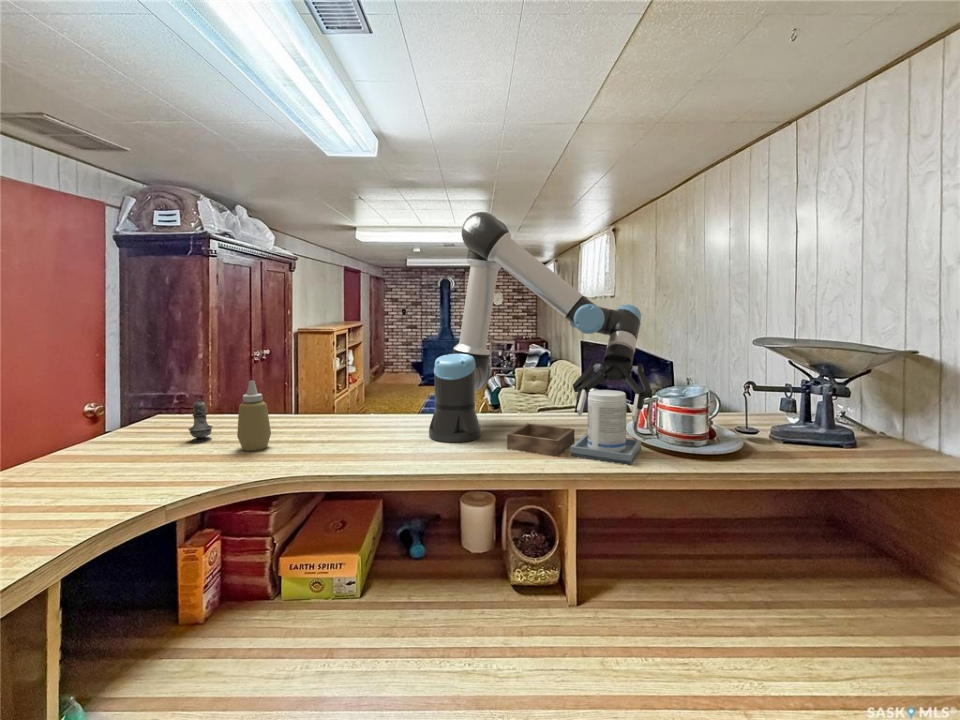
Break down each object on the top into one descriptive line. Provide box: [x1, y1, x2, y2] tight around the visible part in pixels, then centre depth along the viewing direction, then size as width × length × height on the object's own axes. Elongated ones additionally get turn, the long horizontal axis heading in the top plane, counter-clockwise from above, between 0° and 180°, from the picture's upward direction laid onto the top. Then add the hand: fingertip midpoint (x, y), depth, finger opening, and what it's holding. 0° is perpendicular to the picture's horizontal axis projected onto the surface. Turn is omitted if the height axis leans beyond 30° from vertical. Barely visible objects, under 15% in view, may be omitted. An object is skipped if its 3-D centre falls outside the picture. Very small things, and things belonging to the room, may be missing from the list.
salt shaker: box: [187, 398, 214, 444], centre depth 132 cm, size 6×6×12 cm
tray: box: [570, 433, 642, 466], centre depth 122 cm, size 15×15×2 cm
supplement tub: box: [587, 389, 627, 452], centre depth 121 cm, size 10×10×15 cm
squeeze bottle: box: [236, 380, 272, 452], centre depth 125 cm, size 8×8×18 cm
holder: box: [506, 422, 576, 458], centre depth 128 cm, size 14×14×4 cm
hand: (605, 415), depth 119 cm, fingers open, 13 cm apart
